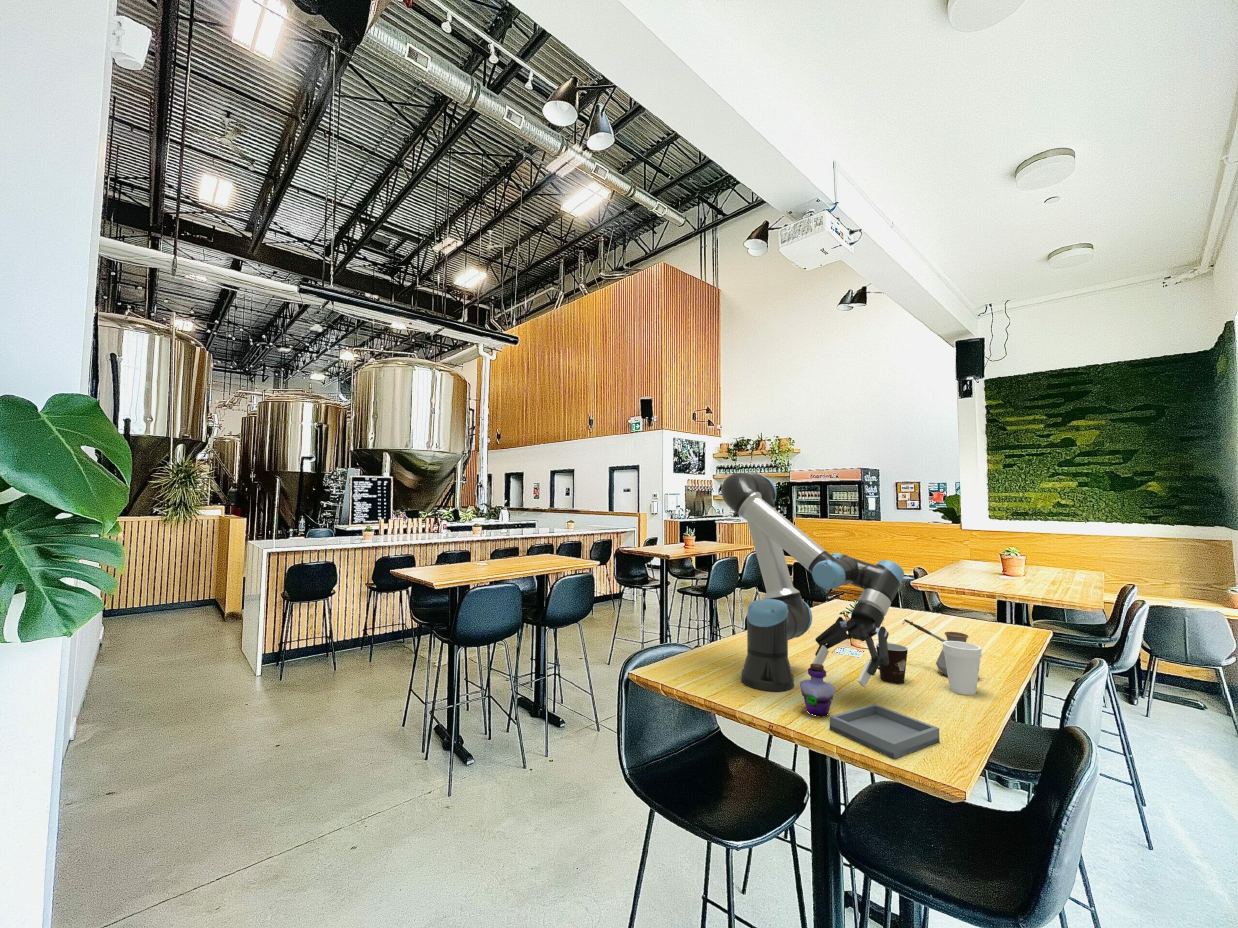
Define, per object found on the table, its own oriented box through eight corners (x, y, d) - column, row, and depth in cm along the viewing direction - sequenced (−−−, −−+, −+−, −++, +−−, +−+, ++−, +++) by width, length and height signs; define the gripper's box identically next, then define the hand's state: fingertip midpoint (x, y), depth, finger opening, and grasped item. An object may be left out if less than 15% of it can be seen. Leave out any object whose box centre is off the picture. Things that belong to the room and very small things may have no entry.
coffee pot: (983, 676, 164) (981, 627, 165) (975, 684, 156) (973, 633, 157) (908, 660, 179) (907, 616, 180) (897, 667, 171) (896, 621, 172)
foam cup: (985, 691, 150) (984, 645, 151) (979, 699, 143) (978, 651, 144) (947, 682, 157) (946, 639, 157) (940, 690, 150) (939, 644, 151)
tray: (829, 729, 123) (829, 715, 123) (874, 715, 131) (874, 703, 132) (894, 758, 109) (893, 744, 109) (939, 741, 117) (939, 727, 118)
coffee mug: (900, 676, 162) (900, 643, 163) (913, 685, 154) (913, 651, 154) (862, 674, 163) (861, 641, 164) (872, 683, 155) (872, 649, 155)
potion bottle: (798, 716, 130) (798, 667, 131) (800, 703, 138) (799, 657, 139) (836, 722, 127) (835, 671, 128) (835, 709, 135) (834, 661, 136)
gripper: (922, 628, 133) (890, 700, 124) (837, 610, 154) (804, 670, 146) (909, 609, 130) (875, 682, 122) (825, 593, 152) (791, 654, 143)
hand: (837, 675), depth 134 cm, fingers open, 13 cm apart
